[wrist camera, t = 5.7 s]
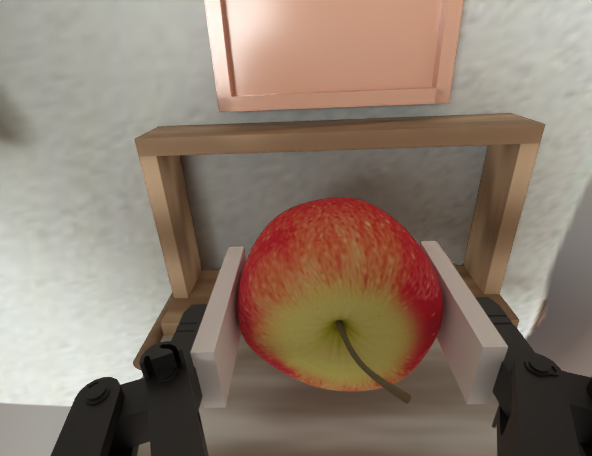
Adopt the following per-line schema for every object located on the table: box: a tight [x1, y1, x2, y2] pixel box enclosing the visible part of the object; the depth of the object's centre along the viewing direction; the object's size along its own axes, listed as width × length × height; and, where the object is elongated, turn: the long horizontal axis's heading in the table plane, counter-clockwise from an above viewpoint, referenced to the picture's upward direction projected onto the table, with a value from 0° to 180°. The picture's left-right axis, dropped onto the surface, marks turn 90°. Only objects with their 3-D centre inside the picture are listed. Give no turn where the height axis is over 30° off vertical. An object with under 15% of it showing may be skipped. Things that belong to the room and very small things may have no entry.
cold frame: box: [133, 113, 545, 456], centre depth 19 cm, size 13×23×14 cm, turn 92°
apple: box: [237, 198, 444, 404], centre depth 15 cm, size 8×8×10 cm
